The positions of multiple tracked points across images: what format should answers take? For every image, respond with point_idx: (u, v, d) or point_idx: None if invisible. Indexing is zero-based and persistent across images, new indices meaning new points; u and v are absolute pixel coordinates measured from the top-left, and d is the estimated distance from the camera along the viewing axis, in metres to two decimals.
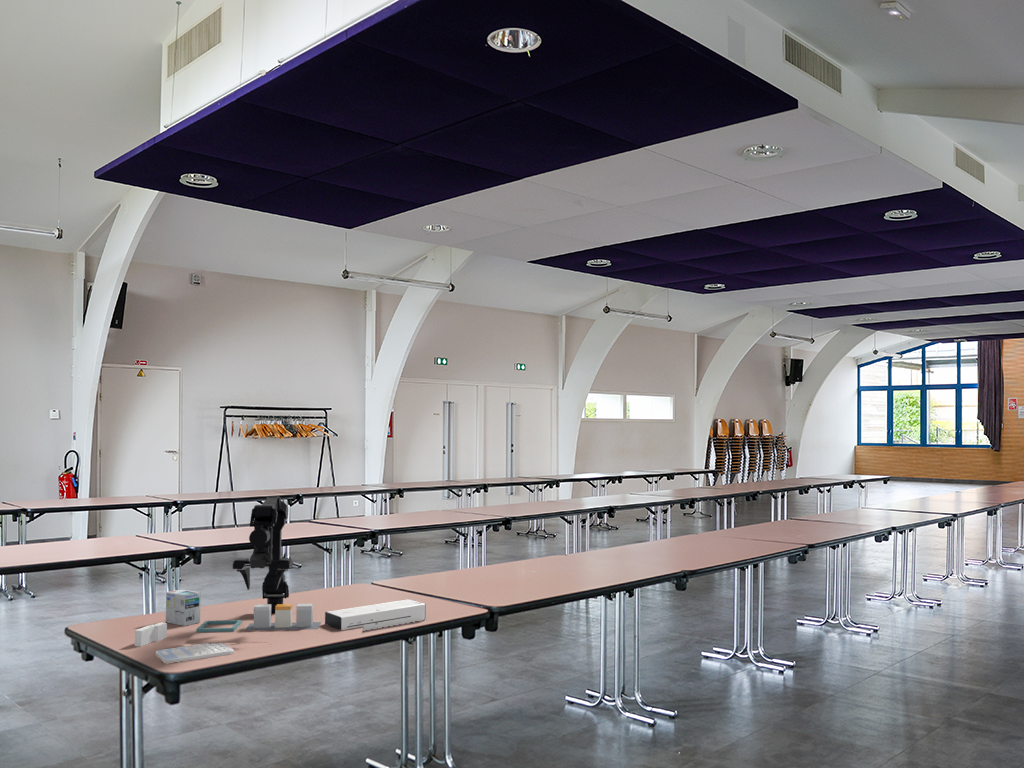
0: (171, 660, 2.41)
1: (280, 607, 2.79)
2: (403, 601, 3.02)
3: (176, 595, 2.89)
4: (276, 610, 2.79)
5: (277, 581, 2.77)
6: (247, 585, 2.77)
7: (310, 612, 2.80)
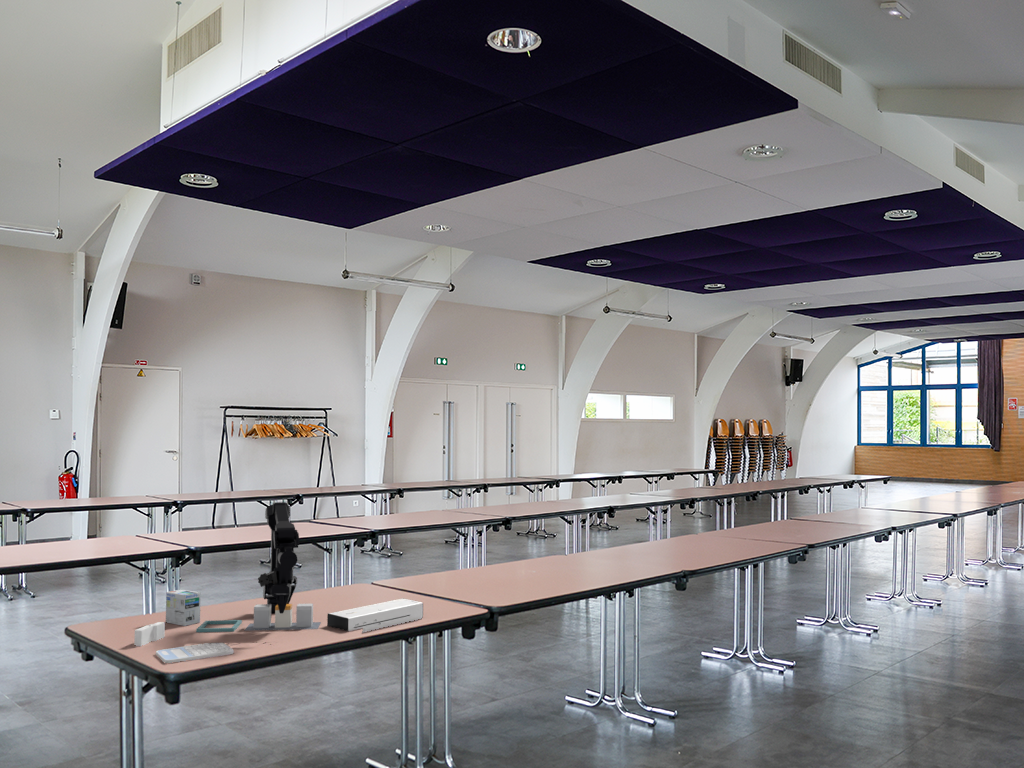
0: (171, 660, 2.41)
1: None
2: (399, 600, 3.03)
3: (176, 595, 2.89)
4: (276, 610, 2.79)
5: None
6: None
7: (310, 612, 2.80)
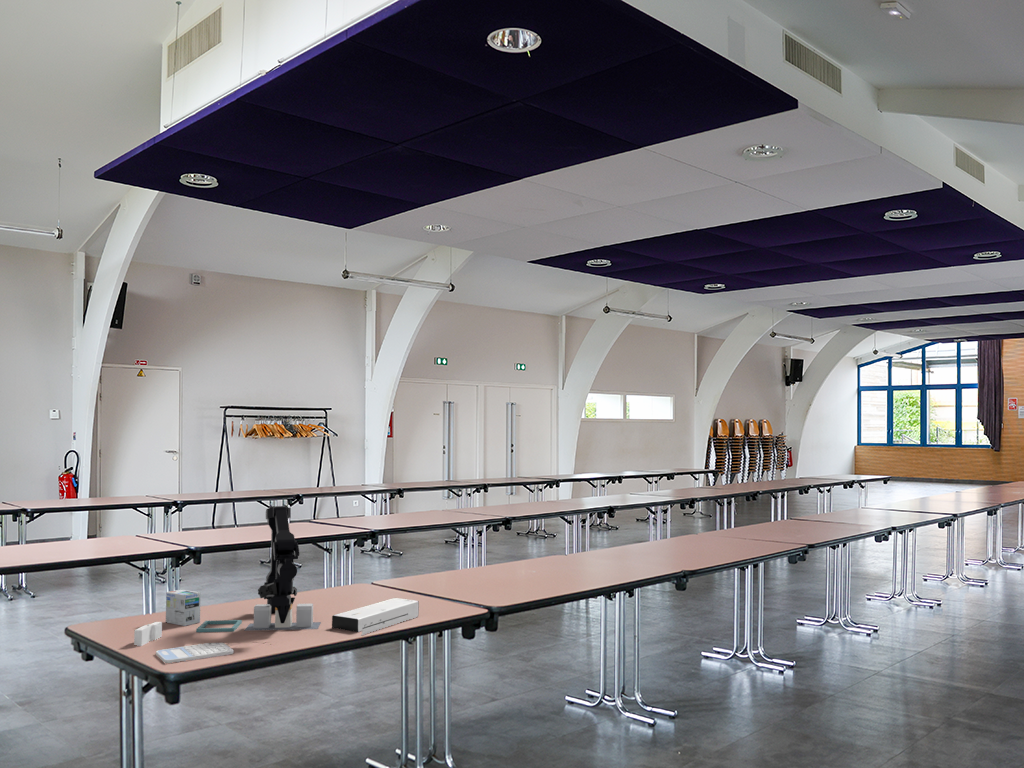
0: (171, 660, 2.41)
1: None
2: (393, 600, 3.04)
3: (176, 595, 2.89)
4: (276, 610, 2.79)
5: None
6: None
7: (310, 612, 2.80)
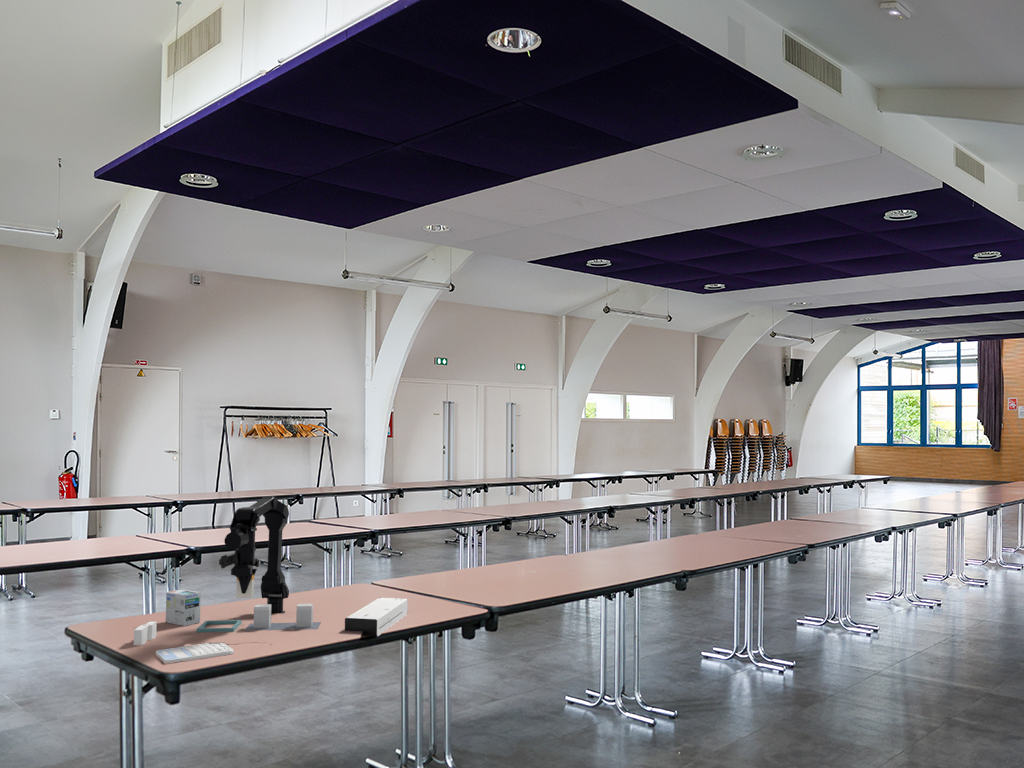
0: (171, 660, 2.42)
1: None
2: (382, 599, 3.04)
3: (176, 595, 2.89)
4: (237, 580, 2.78)
5: None
6: None
7: (310, 612, 2.80)
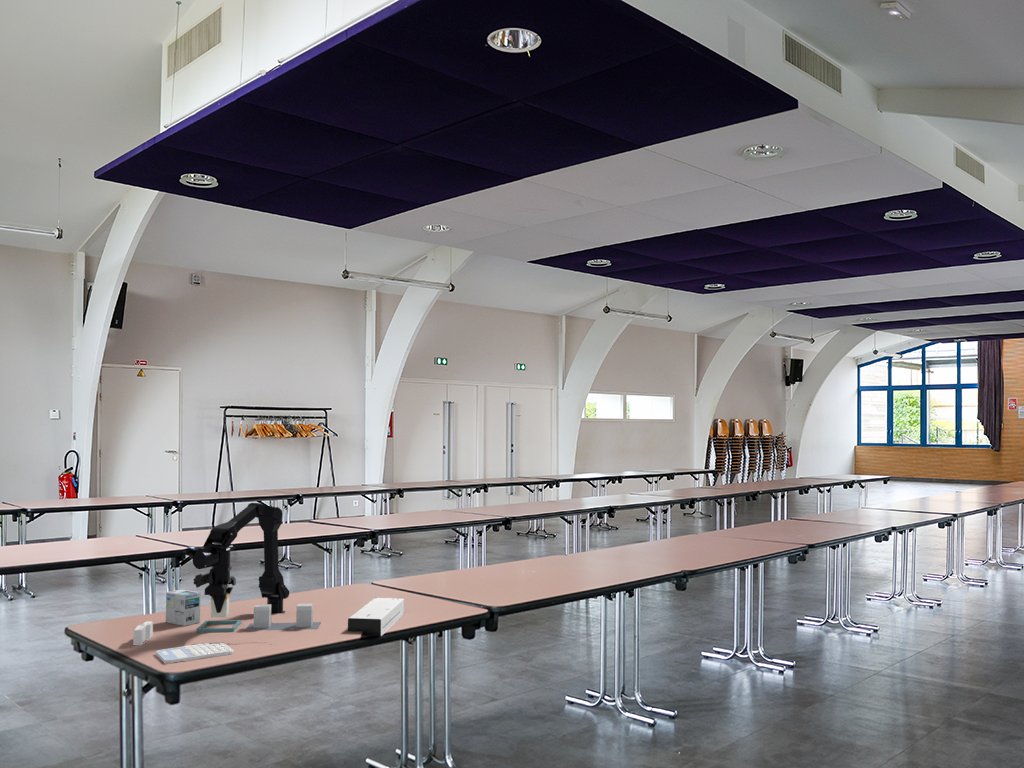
0: (171, 660, 2.42)
1: None
2: (379, 599, 3.04)
3: (176, 595, 2.89)
4: (212, 600, 2.77)
5: None
6: None
7: (310, 612, 2.80)
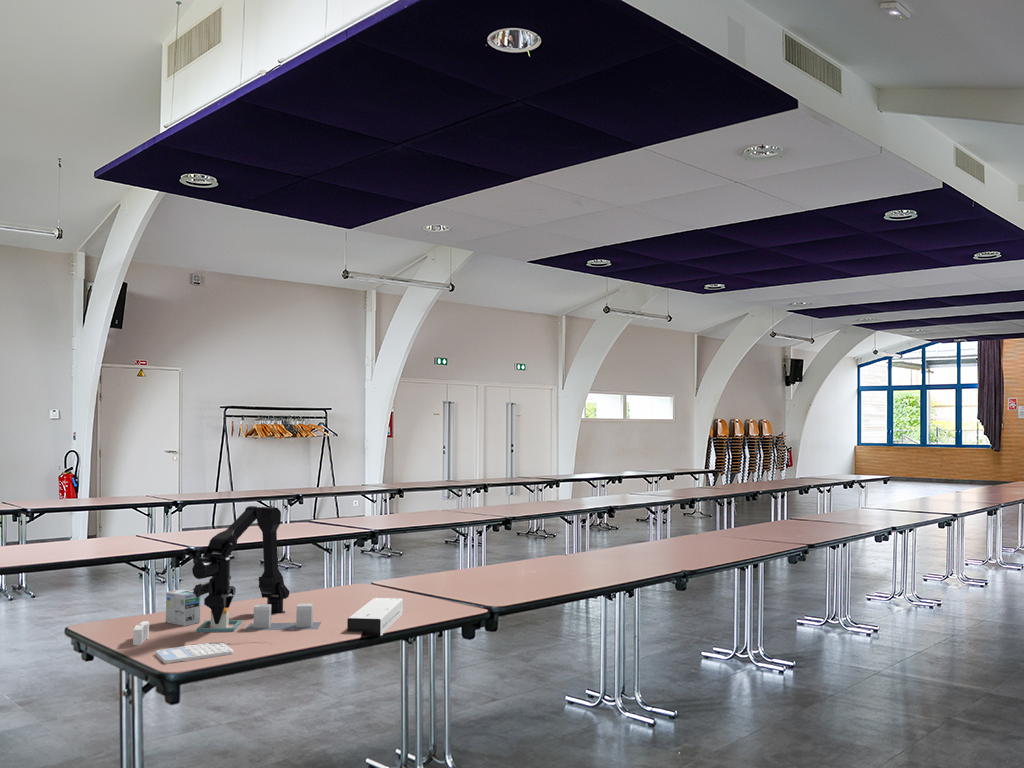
0: (171, 660, 2.42)
1: None
2: (378, 599, 3.04)
3: (176, 595, 2.89)
4: (212, 614, 2.77)
5: None
6: None
7: (310, 612, 2.80)
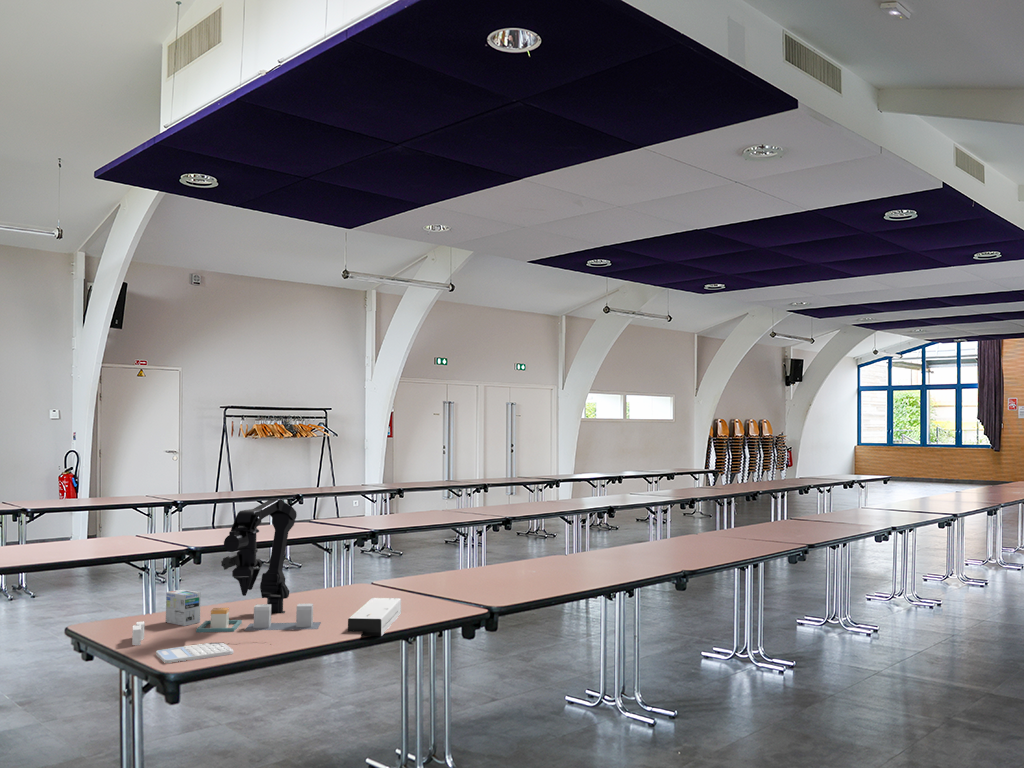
0: (170, 660, 2.42)
1: (216, 611, 2.77)
2: (376, 600, 3.04)
3: (176, 595, 2.89)
4: (212, 614, 2.77)
5: None
6: None
7: (310, 612, 2.80)
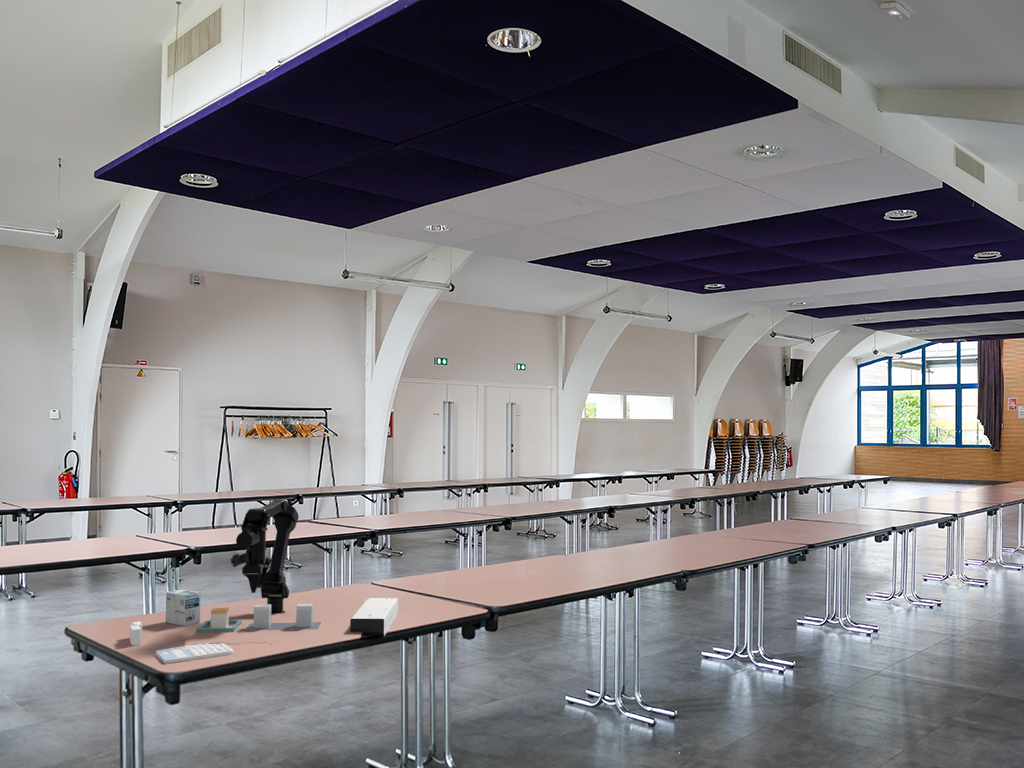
0: (170, 660, 2.42)
1: (216, 611, 2.77)
2: (373, 600, 3.04)
3: (176, 595, 2.89)
4: (212, 614, 2.77)
5: None
6: None
7: (310, 612, 2.80)
